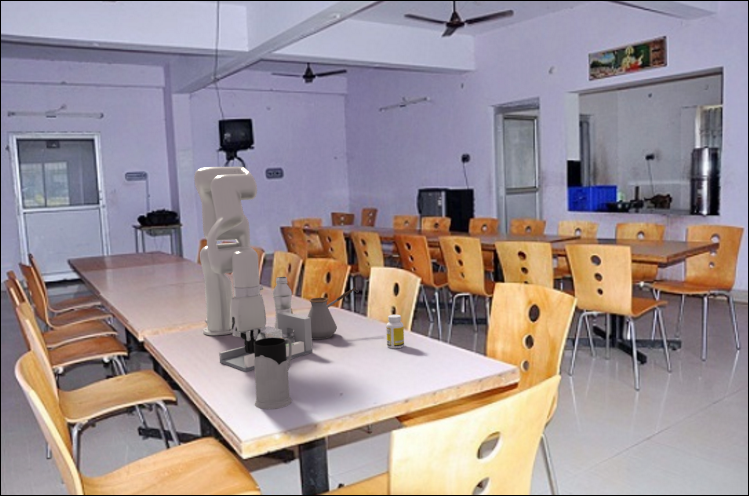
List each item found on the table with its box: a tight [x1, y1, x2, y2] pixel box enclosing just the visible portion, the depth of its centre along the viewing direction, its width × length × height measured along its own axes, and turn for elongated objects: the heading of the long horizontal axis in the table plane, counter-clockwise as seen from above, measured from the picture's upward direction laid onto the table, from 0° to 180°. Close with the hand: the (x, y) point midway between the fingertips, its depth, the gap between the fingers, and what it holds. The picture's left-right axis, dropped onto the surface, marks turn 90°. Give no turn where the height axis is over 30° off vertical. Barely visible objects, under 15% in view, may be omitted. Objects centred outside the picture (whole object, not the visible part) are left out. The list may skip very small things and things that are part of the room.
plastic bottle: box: [272, 276, 294, 332], centre depth 208 cm, size 6×7×20 cm
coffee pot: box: [307, 287, 359, 340], centre depth 207 cm, size 21×12×15 cm, turn 124°
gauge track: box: [218, 312, 313, 373], centre depth 182 cm, size 14×24×11 cm, turn 134°
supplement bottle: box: [385, 314, 405, 349], centre depth 189 cm, size 5×5×10 cm
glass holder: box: [254, 338, 293, 410], centre depth 147 cm, size 9×14×15 cm, turn 159°
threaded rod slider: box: [256, 325, 294, 341], centre depth 184 cm, size 11×14×7 cm
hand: (250, 352), depth 179 cm, fingers closed
